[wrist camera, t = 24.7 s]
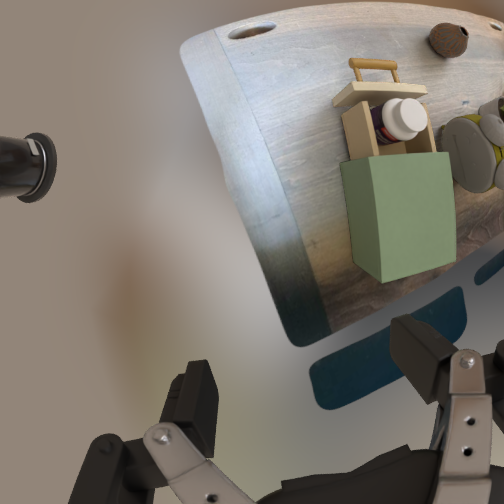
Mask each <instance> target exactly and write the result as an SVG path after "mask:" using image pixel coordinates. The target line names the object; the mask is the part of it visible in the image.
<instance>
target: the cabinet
mask: <svg viewBox="0 0 504 504" xmlns="http://www.w3.org/2000/svg"><path fill="white" fill-rule="evenodd" d="M340 169H341V174H342V180H343V186H344V192H345V199H346V205H347V213H348V220H349V228H350V236H351V245H352V255H353V262H354V263H355V264H356V265H358V266H359V267H360V268H362V269H363V270H365V271H366V272H367V273H369V274H370V275H371V276H373V277H374V278H375V279H377V280H378V281H379V282H381V283H385V282H389V281H393V280H396V279H400V278H403V277H407V276H410V275H413V274H417V273H420V272H423V271H427V270H430V269H433V268H436V267H440V266H443V265H446V264H449V263H452V262H455V261H456V217H455V201H454V190H453V180H452V172H451V165H450V158H449V152H428V153H410V154H395V155H383V156H372V157H365V158H360V159H355V160H351V161H346V162H341V163H340Z"/></svg>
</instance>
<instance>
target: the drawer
mask: <svg viewBox="0 0 504 504" xmlns="http://www.w3.org/2000/svg"><path fill="white" fill-rule="evenodd" d="M349 66H350V68H352V69H353V70H354V73H355V76H356V80H357V82H351V83H349V84H348V85H347V86H346V87H345V88H344V89H343V90H342V91H341V92H339V93H338V94H337V95H336V96H335V97H334V98H333V99H332V103H333V107H345V106H354V107H352V108H351V109H349V110H348V111H346V112H345V113H343V114H342V115H341V117H342V121H343V126H344V130H345V135H346V139H347V144H348V149H349V154H350V159H351V160H355V159H360V158H365V157H372V156H383V155H395V154H410V153H428V152H436V146H435V141H434V136H433V131H432V126H431V122H430V118H429V114H428V110H427V106H426V103H420V104H421V105H422V106H423V107H424V109H425V111H426V114H427V125H426V127H425V129H424V130H422V131H420V132H418V133H417V135H416V136H415V137H414V138H412V139H410V140H407V141H402V142H398V143H393V144H389V145H384V146H378V145H377V140H376V135H375V131H374V126H373V122H372V118H371V114H370V110H369V106H379V105H381V104H383V103H385V102H386V101H388V100H391V99H394V98H399V99H403V100H404V99H407V98H412V99H416V98H419V97H421V96H423V95H426V94H428V92H427V89H426V86H425V85H416V84H405V83H400V81H399V78H398V75H397V72H396V70H397V63H396V62H395V61H390V60H379V59H363V58H350V59H349ZM359 69H379V70H391V73H392V76H393V79H394V82H395V83H390V82H363V80H362V77H361V74H360V71H359Z"/></svg>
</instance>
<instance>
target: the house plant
mask: <svg viewBox="0 0 504 504" xmlns="http://www.w3.org/2000/svg"><path fill="white" fill-rule="evenodd" d="M487 114H493V115H495V116H497V117H499V118H500V119H501V120H502V121H503V122H504V97H502V96H500V97H498V98H496V99H494V100H492V101H490V102H488V103H486V104H484V105H482V106H481V107H480V109H479V115H480V116H484V115H487Z"/></svg>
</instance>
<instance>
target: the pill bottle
mask: <svg viewBox="0 0 504 504" xmlns="http://www.w3.org/2000/svg"><path fill="white" fill-rule="evenodd" d="M370 114H371V118H372V122H373V126H374V131H375V135H376V140H377V145H378V146H384V145H389V144H393V143H398V142H402V141H407V140H410V139H412V138H414V137H415V136H416V135H417V133H418V132H420V131H422V130H424V129H425V127H426V125H427V114H426V111H425V109H424V107H423V106H422V105H421V104H420V103H419V102H418V101H417V100H415V99H412V98H407V99H404V100H403V99H399V98H394V99H391V100H388V101H386V102H385V103H383V104H381V105H379V106H377V107H375V108H373V109H371V110H370Z"/></svg>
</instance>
